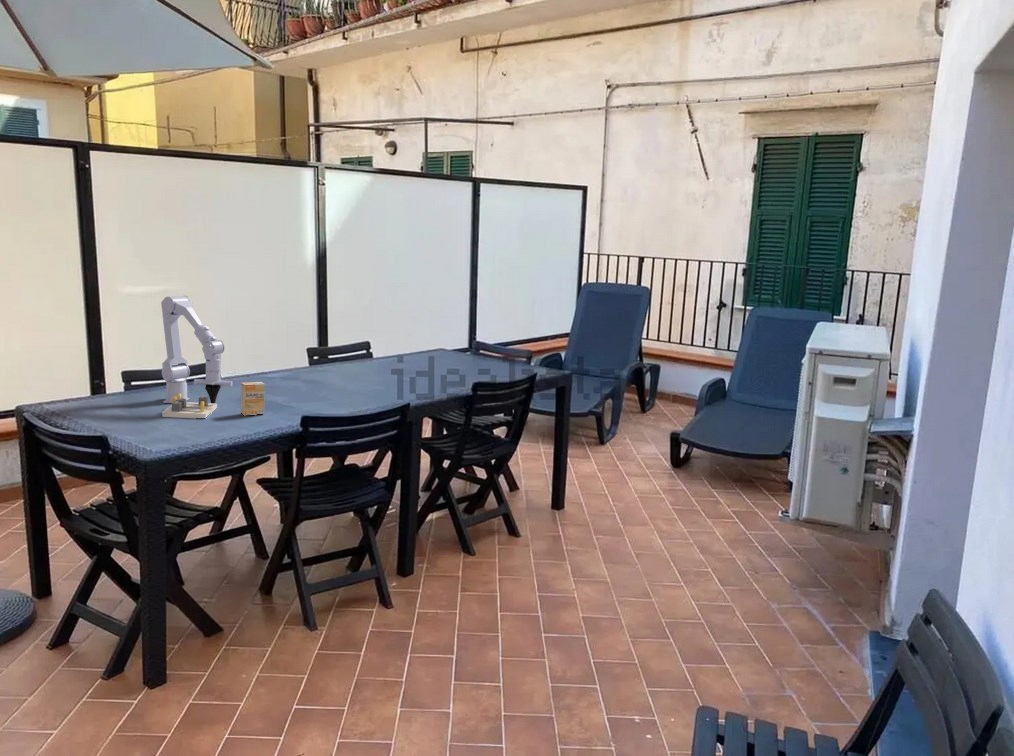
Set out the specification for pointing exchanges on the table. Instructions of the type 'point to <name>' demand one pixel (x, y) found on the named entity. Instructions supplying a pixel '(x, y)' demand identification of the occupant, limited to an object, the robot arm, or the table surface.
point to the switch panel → (190, 410)
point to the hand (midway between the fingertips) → (213, 402)
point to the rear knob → (204, 399)
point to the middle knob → (182, 402)
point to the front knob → (177, 406)
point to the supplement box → (252, 398)
